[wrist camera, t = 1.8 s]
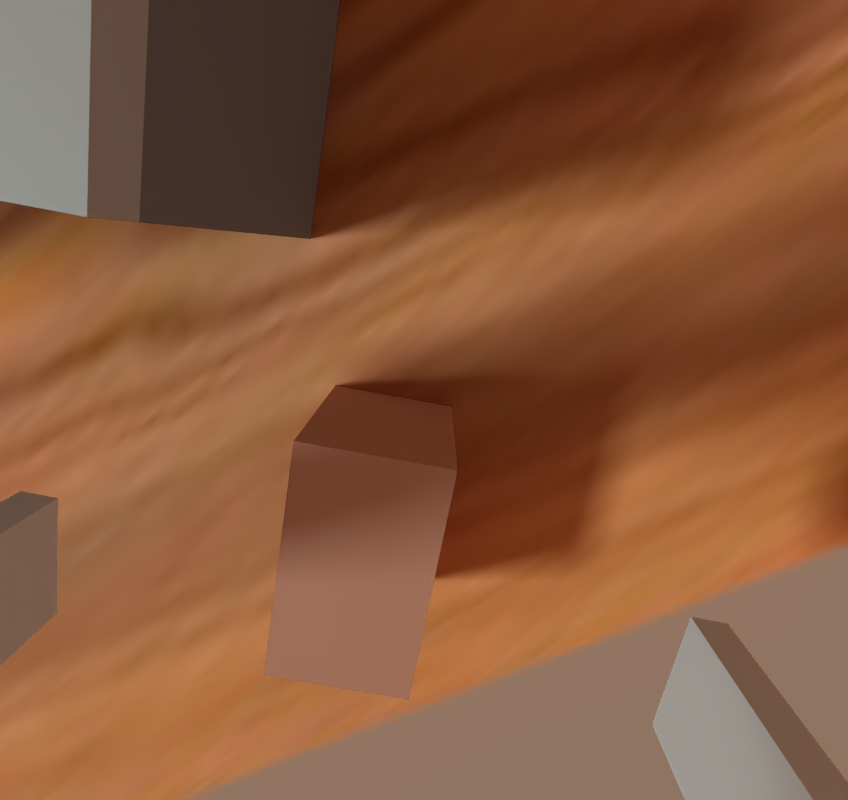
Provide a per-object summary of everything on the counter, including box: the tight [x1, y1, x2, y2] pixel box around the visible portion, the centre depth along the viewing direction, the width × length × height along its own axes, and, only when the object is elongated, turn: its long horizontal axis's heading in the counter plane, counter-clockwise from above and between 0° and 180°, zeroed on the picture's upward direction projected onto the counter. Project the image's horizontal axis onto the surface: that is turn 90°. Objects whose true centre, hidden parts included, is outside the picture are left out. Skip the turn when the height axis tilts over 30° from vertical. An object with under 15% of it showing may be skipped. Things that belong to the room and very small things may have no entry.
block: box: [264, 385, 458, 700], centre depth 15 cm, size 6×4×5 cm, turn 170°
